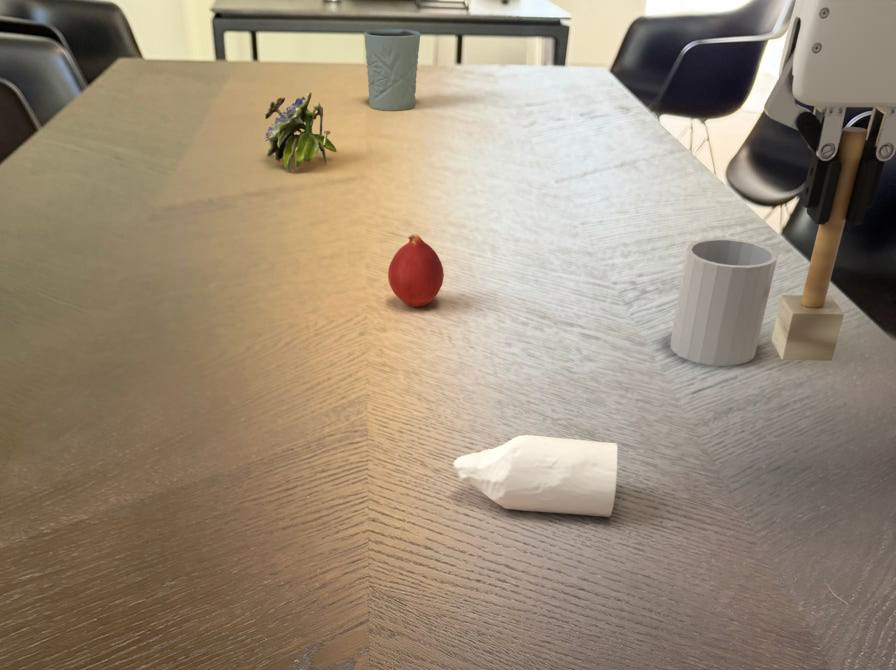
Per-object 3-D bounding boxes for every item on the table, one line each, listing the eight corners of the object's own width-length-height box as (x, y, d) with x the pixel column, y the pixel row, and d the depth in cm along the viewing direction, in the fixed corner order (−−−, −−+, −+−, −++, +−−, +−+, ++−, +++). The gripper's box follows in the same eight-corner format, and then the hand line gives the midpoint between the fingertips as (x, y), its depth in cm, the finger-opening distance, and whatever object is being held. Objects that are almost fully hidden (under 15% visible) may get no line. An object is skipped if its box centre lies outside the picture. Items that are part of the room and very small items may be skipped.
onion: (407, 296, 112) (407, 221, 107) (452, 306, 109) (454, 230, 104) (379, 312, 108) (377, 236, 103) (425, 323, 105) (426, 245, 100)
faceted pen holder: (744, 339, 103) (766, 239, 96) (761, 373, 96) (786, 268, 90) (664, 337, 103) (680, 237, 97) (675, 370, 97) (694, 265, 90)
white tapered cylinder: (456, 481, 80) (458, 416, 76) (607, 491, 79) (617, 426, 75) (448, 521, 75) (450, 454, 72) (609, 532, 74) (619, 465, 71)
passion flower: (282, 196, 160) (275, 120, 160) (348, 185, 158) (341, 108, 158) (258, 169, 149) (250, 86, 149) (328, 156, 147) (321, 73, 147)
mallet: (819, 341, 76) (874, 123, 66) (831, 361, 73) (892, 136, 64) (771, 340, 76) (819, 123, 67) (781, 360, 73) (834, 136, 64)
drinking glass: (358, 109, 186) (356, 34, 179) (376, 98, 194) (375, 26, 186) (409, 113, 184) (409, 37, 176) (426, 102, 191) (427, 29, 184)
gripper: (1029, -122, 59) (931, 203, 71) (761, -120, 60) (707, 202, 72) (1088, -116, 54) (970, 237, 65) (790, -114, 54) (727, 235, 66)
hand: (833, 216), depth 68 cm, fingers closed on mallet
